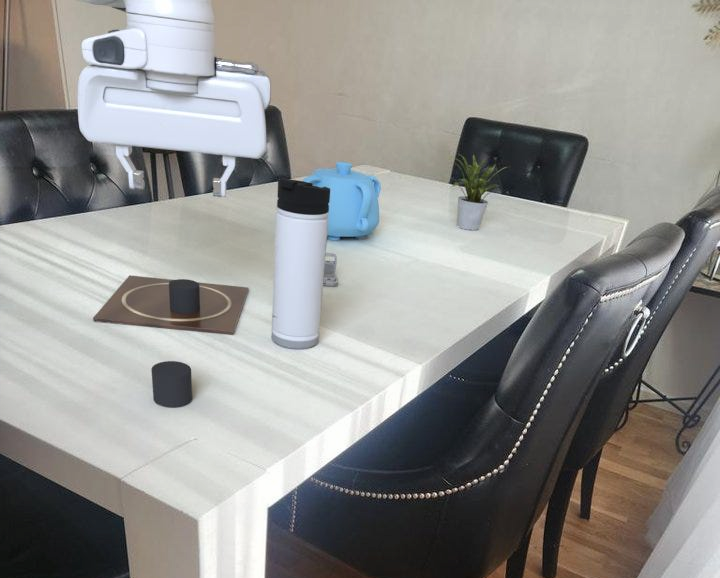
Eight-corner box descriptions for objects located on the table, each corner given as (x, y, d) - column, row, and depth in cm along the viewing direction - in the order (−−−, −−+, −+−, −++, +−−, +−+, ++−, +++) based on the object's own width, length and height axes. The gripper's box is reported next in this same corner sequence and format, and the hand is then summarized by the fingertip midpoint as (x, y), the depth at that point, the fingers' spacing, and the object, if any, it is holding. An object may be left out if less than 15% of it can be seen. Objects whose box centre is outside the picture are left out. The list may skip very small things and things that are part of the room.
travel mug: (259, 339, 85) (264, 175, 74) (291, 327, 90) (300, 171, 79) (297, 354, 83) (307, 186, 71) (327, 341, 87) (342, 181, 76)
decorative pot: (363, 250, 127) (373, 175, 120) (287, 234, 130) (291, 160, 122) (383, 233, 141) (393, 164, 133) (314, 219, 143) (319, 151, 136)
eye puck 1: (173, 302, 91) (172, 277, 89) (202, 305, 91) (201, 280, 89) (167, 312, 88) (165, 287, 86) (197, 315, 88) (196, 290, 86)
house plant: (421, 220, 154) (433, 144, 145) (458, 217, 163) (472, 145, 154) (466, 236, 146) (481, 157, 137) (503, 231, 154) (520, 156, 145)
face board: (93, 321, 84) (92, 316, 83) (129, 278, 99) (129, 274, 98) (233, 334, 85) (233, 330, 85) (248, 290, 100) (248, 286, 100)
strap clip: (338, 287, 106) (341, 261, 104) (320, 286, 106) (322, 260, 103) (332, 271, 113) (334, 246, 111) (314, 270, 113) (316, 245, 110)
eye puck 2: (149, 406, 68) (147, 375, 66) (158, 388, 71) (156, 359, 69) (188, 409, 68) (187, 379, 66) (195, 391, 71) (194, 362, 69)
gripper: (271, 63, 73) (268, 194, 80) (79, 39, 69) (95, 178, 77) (271, 66, 67) (267, 206, 75) (64, 40, 64) (82, 189, 72)
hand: (178, 192), depth 76 cm, fingers open, 8 cm apart
